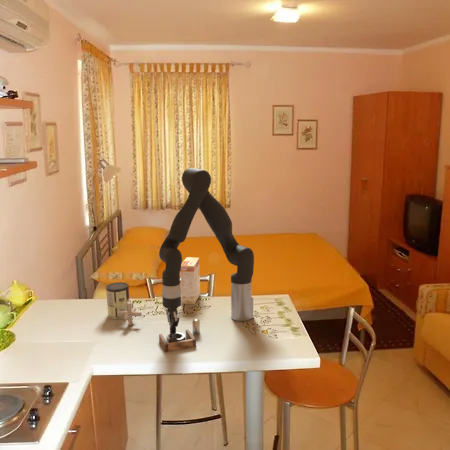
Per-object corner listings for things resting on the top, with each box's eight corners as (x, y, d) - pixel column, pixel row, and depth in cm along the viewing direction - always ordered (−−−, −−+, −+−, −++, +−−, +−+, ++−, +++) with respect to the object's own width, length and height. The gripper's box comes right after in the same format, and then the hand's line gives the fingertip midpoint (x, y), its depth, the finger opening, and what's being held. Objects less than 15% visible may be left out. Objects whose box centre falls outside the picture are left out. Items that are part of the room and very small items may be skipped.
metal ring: (182, 338, 196) (182, 331, 196) (186, 345, 190) (186, 338, 189) (165, 341, 194) (165, 334, 193) (169, 348, 187) (169, 341, 187)
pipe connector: (136, 329, 205) (135, 307, 203) (115, 328, 207) (113, 306, 205) (145, 320, 214) (144, 299, 212) (124, 319, 216) (123, 298, 214)
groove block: (188, 336, 198) (188, 329, 197) (196, 346, 189) (195, 339, 188) (159, 341, 194) (158, 334, 193) (165, 352, 184) (165, 345, 184)
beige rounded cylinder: (198, 331, 202) (198, 318, 201) (200, 334, 200) (200, 320, 198) (191, 332, 201) (191, 319, 200) (193, 335, 199) (193, 321, 197)
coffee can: (119, 308, 228) (117, 280, 225) (135, 313, 223) (133, 284, 220) (102, 316, 220) (100, 287, 217) (119, 320, 214) (117, 291, 211)
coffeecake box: (187, 293, 248) (186, 256, 244) (200, 293, 247) (199, 257, 243) (180, 303, 234) (179, 265, 230) (195, 304, 233) (194, 265, 229)
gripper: (185, 298, 188) (186, 339, 191) (176, 288, 200) (177, 326, 203) (166, 301, 185) (168, 342, 189) (158, 290, 197) (160, 329, 201)
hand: (173, 334), depth 196 cm, fingers closed
